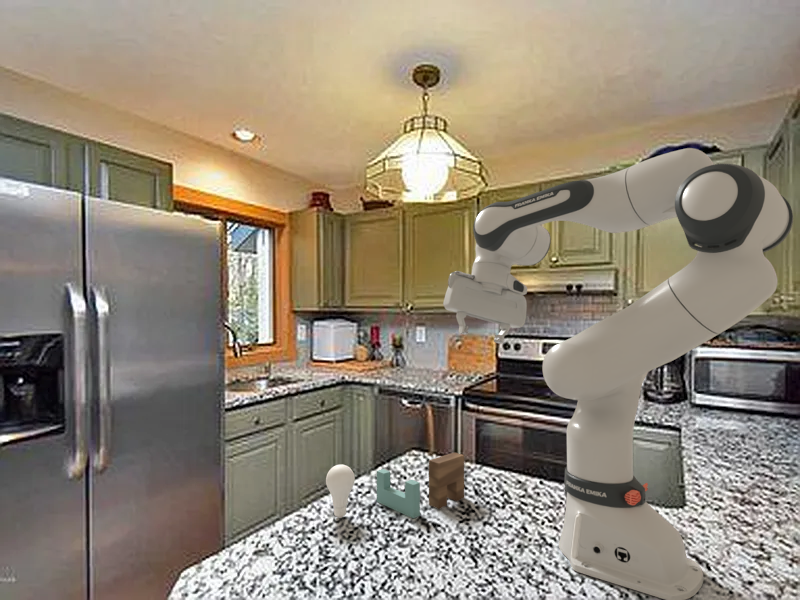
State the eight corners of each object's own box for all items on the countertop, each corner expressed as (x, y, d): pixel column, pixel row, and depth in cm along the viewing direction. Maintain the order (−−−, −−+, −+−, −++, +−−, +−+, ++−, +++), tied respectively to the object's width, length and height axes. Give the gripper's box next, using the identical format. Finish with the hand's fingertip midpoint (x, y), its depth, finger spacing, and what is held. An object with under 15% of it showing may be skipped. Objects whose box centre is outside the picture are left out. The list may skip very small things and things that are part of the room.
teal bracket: (419, 515, 97) (419, 482, 97) (413, 518, 95) (413, 484, 96) (383, 499, 105) (383, 469, 106) (376, 501, 104) (376, 470, 104)
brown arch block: (464, 497, 106) (464, 455, 107) (438, 509, 100) (438, 463, 101) (454, 494, 108) (454, 452, 109) (428, 504, 102) (428, 460, 103)
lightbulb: (349, 525, 92) (349, 470, 93) (321, 522, 93) (321, 468, 94) (358, 512, 98) (358, 461, 99) (331, 510, 99) (331, 459, 100)
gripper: (457, 265, 99) (446, 326, 96) (533, 289, 106) (526, 347, 103) (444, 271, 105) (434, 329, 102) (517, 293, 111) (509, 348, 108)
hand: (480, 338), depth 102 cm, fingers open, 8 cm apart
